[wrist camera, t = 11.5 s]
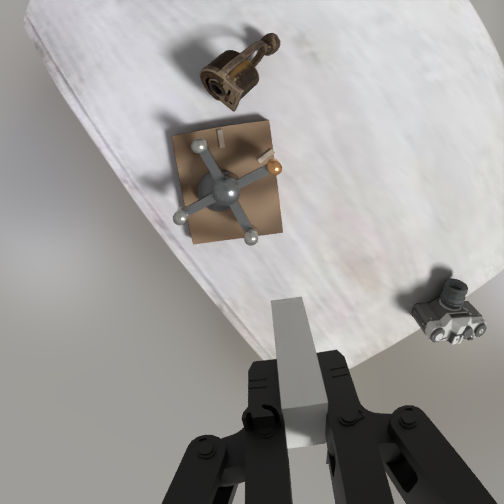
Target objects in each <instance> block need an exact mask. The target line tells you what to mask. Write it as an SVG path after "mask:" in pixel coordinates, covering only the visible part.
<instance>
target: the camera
mask: <svg viewBox="0 0 504 504" xmlns="http://www.w3.org/2000/svg"><path fill="white" fill-rule="evenodd" d="M467 290H468V287H467V285H466V284H465V283H464V282H462V281H460V280H457V279H447V280H446V282H445V284H444V288H443V290H442V293H441V294H440V297H439V298H437V299H435V300H434V301H432V302H430V303H420V304H416V305H415V306H414V308H413V310H412V316H413V317H414V319H415V320H416V322H417V323H418V324H419V326H420V327H421V329H422V330H423V332H424V333H425V335H427V337H428V338H429V340H430V341H432V342H438V341H442V340H447V341H449V342H450V343H451V345H453V344H455V343H459V344H460V343H461V341H462V339H463V338H464V339H468V340H473V338H475V336H476V337H480V336H481V335H483V334H484V332H485V331H486V325H487V322H486V321H485V320H484V319H483V318H482V315H481V314H480V313H479V312H478V311H477V310H476V309H475V308H474V307H473V306H472V305H471V304H470V303H469V302H468V301H464V300H465V295H466V294H467Z"/></svg>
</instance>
